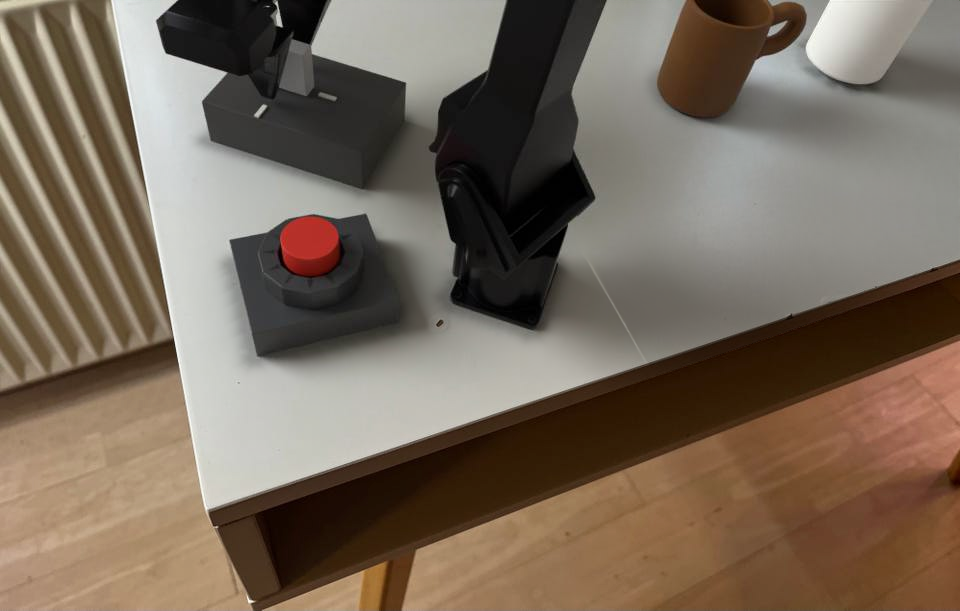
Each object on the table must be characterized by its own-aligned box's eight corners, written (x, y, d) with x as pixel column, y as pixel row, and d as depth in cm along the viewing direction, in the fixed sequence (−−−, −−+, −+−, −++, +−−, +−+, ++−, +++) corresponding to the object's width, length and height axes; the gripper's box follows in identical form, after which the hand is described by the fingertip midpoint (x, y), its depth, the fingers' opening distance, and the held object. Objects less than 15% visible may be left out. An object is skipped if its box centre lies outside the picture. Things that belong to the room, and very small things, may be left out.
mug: (752, 64, 74) (795, -25, 66) (788, 114, 70) (838, 25, 62) (642, 71, 71) (674, -21, 64) (672, 123, 67) (710, 31, 59)
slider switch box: (404, 121, 63) (406, 80, 60) (362, 190, 58) (361, 149, 54) (264, 77, 64) (258, 35, 61) (210, 141, 59) (200, 99, 56)
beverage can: (886, 96, 73) (964, -17, 64) (806, 79, 73) (871, -37, 64) (875, 49, 78) (945, -63, 69) (799, 33, 78) (859, -81, 69)
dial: (314, 86, 58) (311, 41, 55) (306, 97, 57) (302, 52, 54) (261, 70, 59) (254, 24, 55) (252, 80, 58) (245, 34, 55)
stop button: (332, 229, 50) (330, 211, 48) (346, 270, 48) (345, 252, 46) (277, 240, 48) (274, 222, 47) (289, 282, 47) (287, 264, 45)
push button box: (366, 238, 55) (366, 195, 51) (398, 323, 51) (400, 283, 47) (234, 264, 52) (224, 221, 48) (257, 357, 48) (247, 317, 44)
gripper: (216, -218, 51) (247, -9, 64) (39, -106, 40) (118, 120, 53) (366, -178, 50) (367, 26, 63) (226, -51, 39) (262, 166, 52)
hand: (283, 78), depth 58 cm, fingers open, 5 cm apart
